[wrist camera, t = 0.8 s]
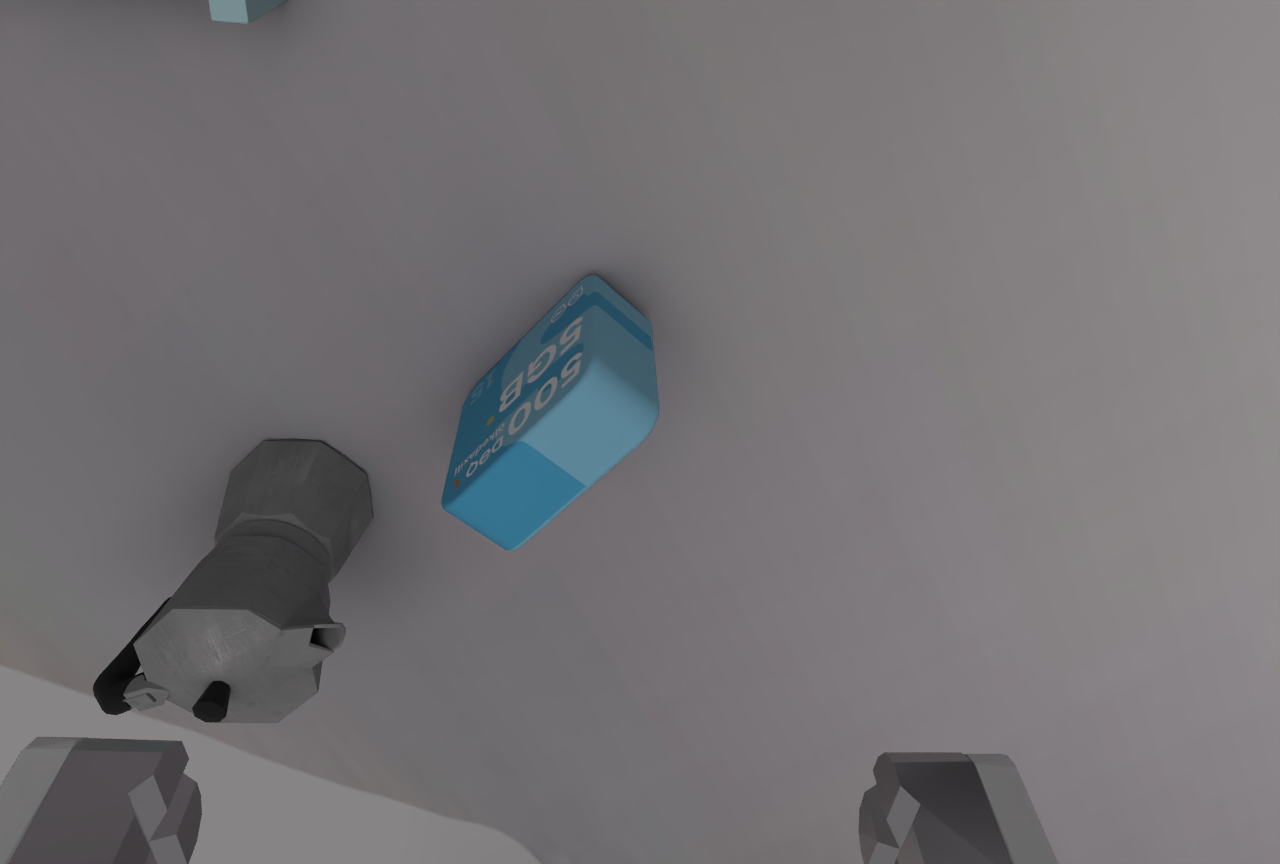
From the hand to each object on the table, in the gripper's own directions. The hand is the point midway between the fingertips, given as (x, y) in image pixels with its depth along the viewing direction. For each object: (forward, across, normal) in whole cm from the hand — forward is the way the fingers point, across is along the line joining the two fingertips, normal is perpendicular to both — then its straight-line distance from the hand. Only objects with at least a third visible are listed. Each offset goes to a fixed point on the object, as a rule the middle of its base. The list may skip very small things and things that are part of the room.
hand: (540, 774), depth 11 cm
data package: (+41, +1, +18) cm, 45 cm away
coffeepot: (+41, +18, +30) cm, 54 cm away
